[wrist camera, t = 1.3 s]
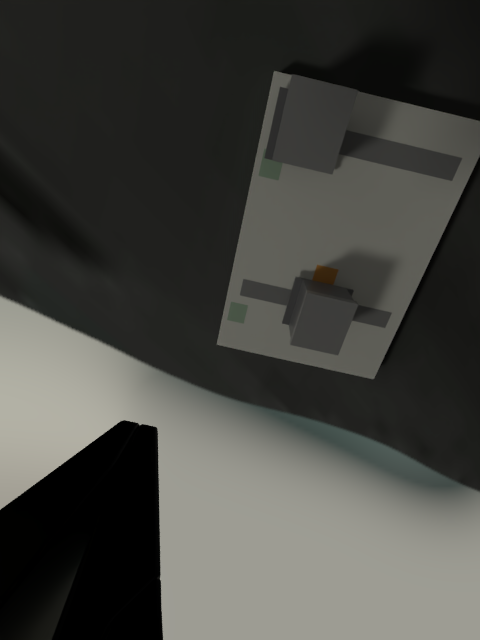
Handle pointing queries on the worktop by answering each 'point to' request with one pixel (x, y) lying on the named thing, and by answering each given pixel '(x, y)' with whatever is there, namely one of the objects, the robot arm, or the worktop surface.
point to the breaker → (310, 123)
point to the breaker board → (348, 227)
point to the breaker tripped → (319, 315)
